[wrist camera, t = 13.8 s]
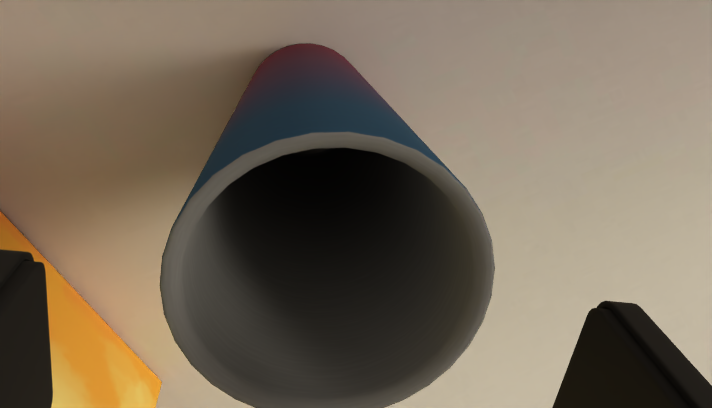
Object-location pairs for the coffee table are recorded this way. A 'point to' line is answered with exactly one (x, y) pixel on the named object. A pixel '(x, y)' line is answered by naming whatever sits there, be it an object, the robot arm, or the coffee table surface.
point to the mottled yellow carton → (85, 346)
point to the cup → (324, 247)
